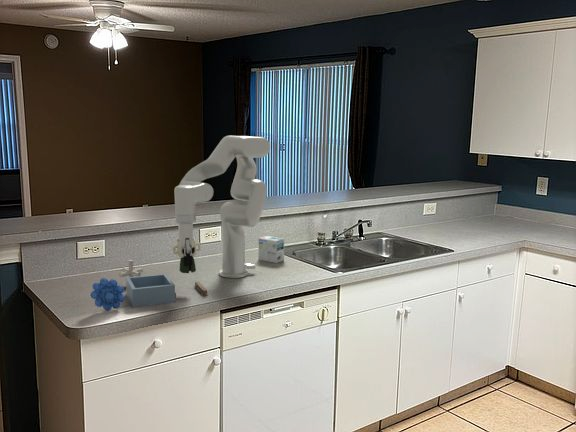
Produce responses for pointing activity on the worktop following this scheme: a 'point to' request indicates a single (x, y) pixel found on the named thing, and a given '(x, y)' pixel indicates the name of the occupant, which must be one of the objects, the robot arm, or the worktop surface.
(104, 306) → the blue flower
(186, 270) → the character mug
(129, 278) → the bin
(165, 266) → the worktop surface
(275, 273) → the worktop surface
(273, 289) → the worktop surface
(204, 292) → the seat rails
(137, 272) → the pipe connector
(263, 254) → the light bulb box
